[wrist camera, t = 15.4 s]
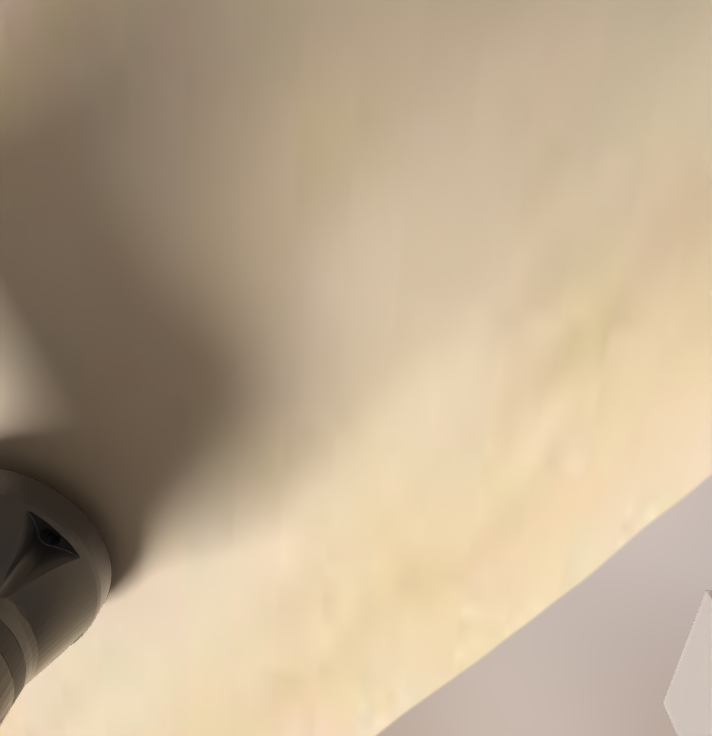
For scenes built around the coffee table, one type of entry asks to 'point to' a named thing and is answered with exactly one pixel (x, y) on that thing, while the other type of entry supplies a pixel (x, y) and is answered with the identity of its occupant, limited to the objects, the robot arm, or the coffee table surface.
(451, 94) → the coffee table surface
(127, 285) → the coffee table surface
